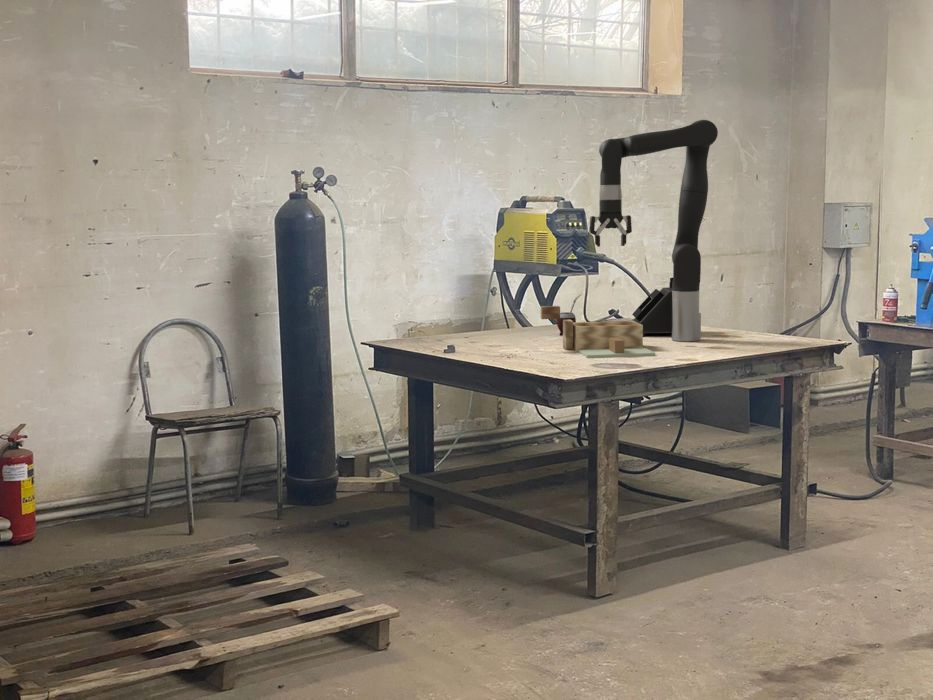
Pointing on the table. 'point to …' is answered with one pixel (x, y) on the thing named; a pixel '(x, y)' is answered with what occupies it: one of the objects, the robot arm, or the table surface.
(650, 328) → the voltmeter
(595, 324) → the toolbox
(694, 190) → the robot arm
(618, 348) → the lid
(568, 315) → the mate gourd
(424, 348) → the table surface
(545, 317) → the wooden block
